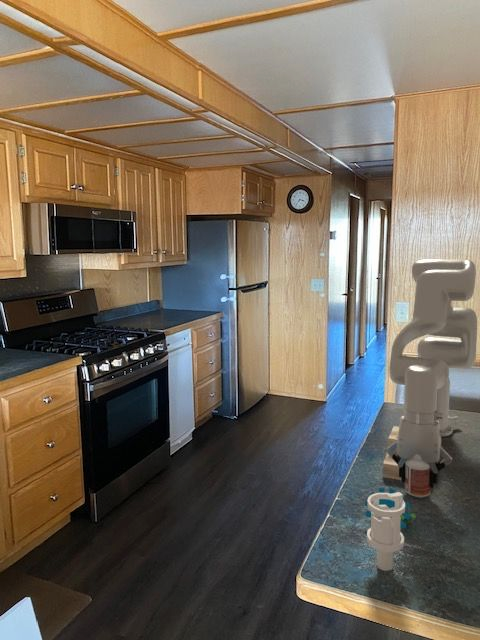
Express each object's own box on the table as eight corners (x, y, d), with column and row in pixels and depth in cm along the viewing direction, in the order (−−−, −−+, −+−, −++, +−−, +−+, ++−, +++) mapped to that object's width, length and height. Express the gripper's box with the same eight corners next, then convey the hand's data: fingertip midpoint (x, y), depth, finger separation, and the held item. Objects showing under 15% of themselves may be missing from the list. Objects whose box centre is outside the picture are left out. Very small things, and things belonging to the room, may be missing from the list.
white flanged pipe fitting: (410, 572, 96) (413, 501, 93) (380, 581, 93) (382, 509, 91) (388, 551, 102) (389, 484, 100) (359, 559, 100) (360, 491, 97)
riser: (393, 450, 149) (393, 425, 148) (435, 457, 144) (436, 431, 143) (382, 476, 133) (383, 448, 132) (429, 485, 128) (430, 456, 127)
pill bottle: (435, 493, 123) (437, 452, 121) (420, 501, 120) (421, 458, 118) (414, 483, 128) (416, 443, 126) (399, 490, 125) (400, 449, 123)
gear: (359, 522, 110) (370, 480, 114) (360, 529, 114) (371, 488, 119) (410, 541, 105) (420, 496, 110) (409, 546, 110) (418, 503, 115)
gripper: (458, 414, 120) (455, 482, 123) (386, 405, 127) (384, 469, 130) (457, 426, 113) (454, 497, 116) (381, 416, 121) (379, 483, 124)
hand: (417, 482), depth 123 cm, fingers closed on pill bottle, 6 cm apart
